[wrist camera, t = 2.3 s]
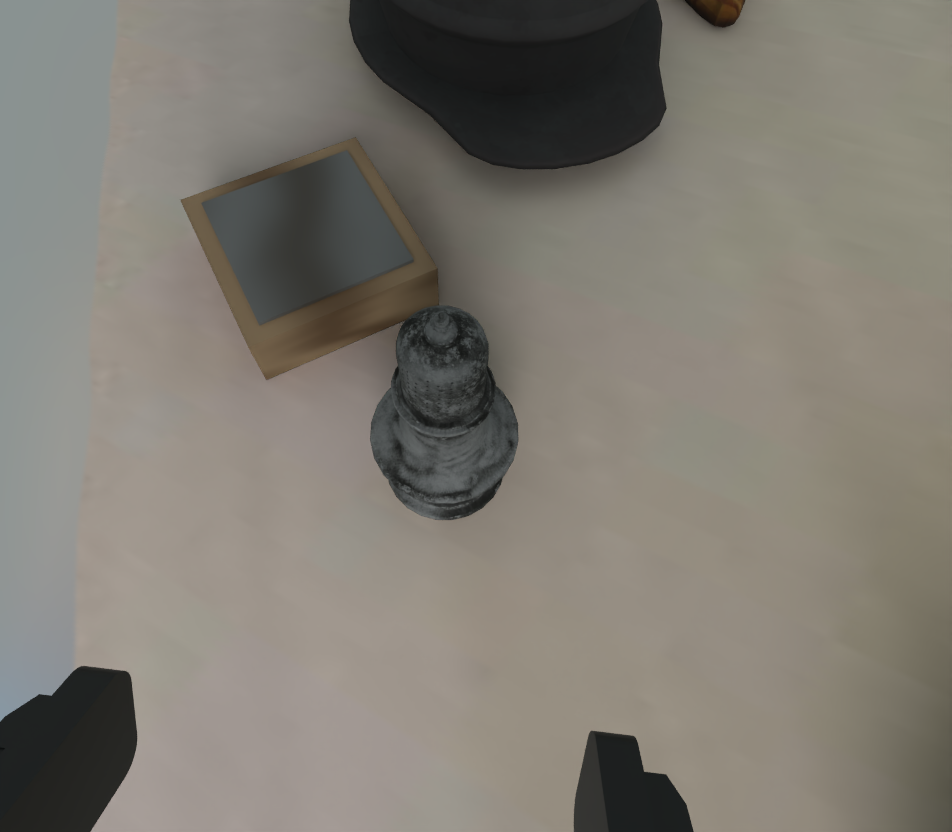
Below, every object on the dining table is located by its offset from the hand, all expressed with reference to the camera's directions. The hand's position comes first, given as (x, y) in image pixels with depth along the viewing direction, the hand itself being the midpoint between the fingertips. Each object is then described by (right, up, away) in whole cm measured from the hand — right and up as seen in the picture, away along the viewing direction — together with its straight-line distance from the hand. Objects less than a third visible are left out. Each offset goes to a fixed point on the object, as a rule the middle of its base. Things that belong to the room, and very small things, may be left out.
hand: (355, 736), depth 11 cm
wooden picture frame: (-6, +13, +22) cm, 26 cm away
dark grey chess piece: (+1, +3, +18) cm, 18 cm away
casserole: (+4, +29, +30) cm, 41 cm away
